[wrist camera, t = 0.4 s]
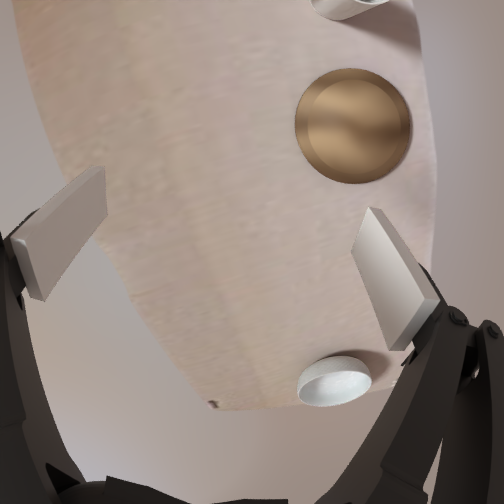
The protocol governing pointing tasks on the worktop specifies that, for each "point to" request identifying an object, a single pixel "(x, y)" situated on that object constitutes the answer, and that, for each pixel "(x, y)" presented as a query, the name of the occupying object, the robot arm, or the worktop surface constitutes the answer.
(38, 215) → the robot arm
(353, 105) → the disc
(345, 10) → the mug
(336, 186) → the worktop surface
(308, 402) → the cereal bowl
